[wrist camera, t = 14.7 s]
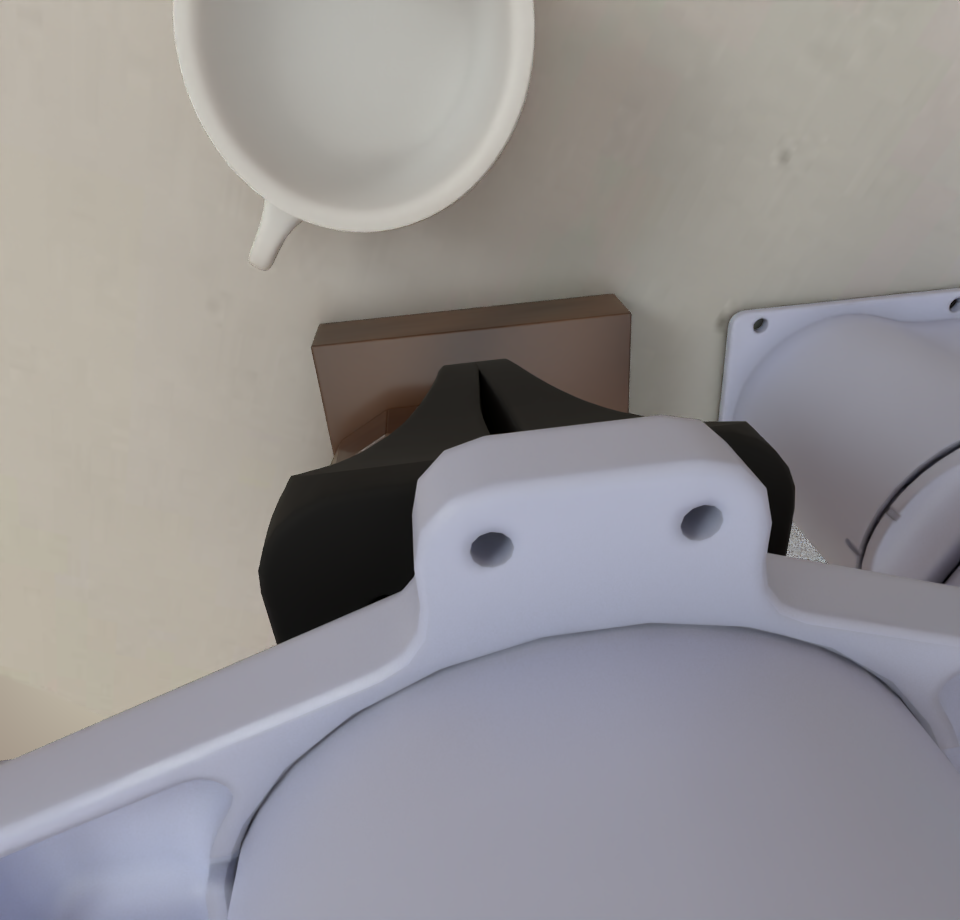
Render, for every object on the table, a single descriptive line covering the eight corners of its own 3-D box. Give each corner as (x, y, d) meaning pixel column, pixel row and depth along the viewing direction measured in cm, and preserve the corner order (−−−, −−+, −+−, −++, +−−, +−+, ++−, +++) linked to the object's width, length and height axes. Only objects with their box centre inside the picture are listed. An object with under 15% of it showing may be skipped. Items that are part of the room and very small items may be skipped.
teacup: (306, -208, 17) (265, -316, 12) (561, -1, 19) (610, -24, 15) (156, 171, 20) (81, 200, 16) (386, 303, 23) (380, 362, 18)
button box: (614, 293, 23) (649, 331, 20) (609, 571, 29) (635, 638, 26) (299, 325, 23) (279, 371, 20) (358, 601, 29) (351, 673, 26)
